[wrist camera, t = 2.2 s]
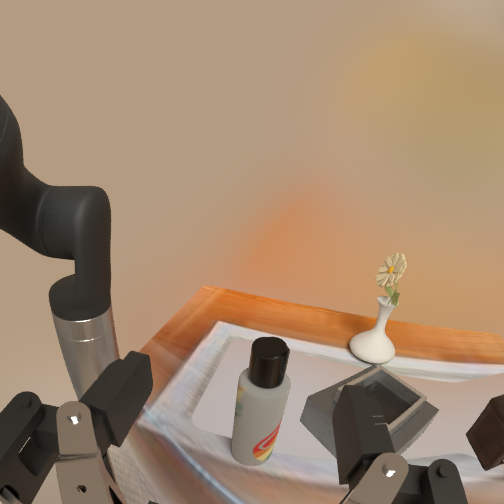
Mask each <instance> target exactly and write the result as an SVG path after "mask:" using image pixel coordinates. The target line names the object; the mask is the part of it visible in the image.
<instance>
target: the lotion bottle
mask: <svg viewBox="0 0 504 504" xmlns="http://www.w3.org/2000/svg"><path fill="white" fill-rule="evenodd" d="M289 353H290V349H289V348H288V347H287V345H286V343H285V342H284V341H283V340H282V339H280V338H277V337H260V338H258V339H256V340H255V341H254V342H253V344H252V349H251V356H250V364H249V368H247V369H245V370H244V371H243V372H242V373H241V375H240V377H239V381H238V390H237V399H236V408H235V417H234V426H233V436H232V446H231V451H232V454H233V456H234V458H235V459H236V460H237V461H238V462H240V463H242V464H244V465H248V466H256V465H260V464H263V463H264V462H266V461H267V460H268V459H269V457H270V455H271V453H272V450H273V447H274V443H275V441H276V437H277V434H278V430H279V427H280V424H281V420H282V417H283V414H284V410H285V406H286V403H287V399H288V395H289V391H290V387H291V383H290V379H289V377H288V376H287V375H286V373H285V372H286V367H287V363H288V358H289Z"/></svg>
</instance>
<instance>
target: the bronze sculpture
mask: <svg viewBox="0 0 504 504" xmlns="http://www.w3.org/2000/svg"><path fill="white" fill-rule="evenodd" d="M466 436H467V438H468V440H469V443H470V444H471V446H472V448H473V450H474V452H475V454H476V455H477V457H478V459H479V461H480V463H481V465H482V467H483V468H484V469H485V470H486V471H487V470H489V469H491V468H494V467H496V466H498V465H500V464H504V395H501V396H498V397H495V398H492V399H491V400H490V401H489V403H488V405H487V406H486V407H485V409H484V410H483V412H482V413H481V415H480V416H479V417H478V419H477V420H476V422H475V423H474V424H473V426H472V427H471V428H470V430H469V431H468V432H467V433H466Z"/></svg>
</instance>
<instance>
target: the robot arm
mask: <svg viewBox="0 0 504 504" xmlns="http://www.w3.org/2000/svg"><path fill="white" fill-rule="evenodd" d="M0 229H2V230H3V231H5V232H7V233H9V234H10V235H12V236H13V237H15V238H16V239H18V240H19V241H21V242H22V243H24V244H25V245H27V246H28V247H30V248H31V249H33V250H34V251H36V252H38V253H40V254H42V255H44V256H47V257H52V258H59V259H69V260H75V274H73V275H70V276H67V277H64V278H62V279H60V280H58V281H57V282H56V283H54V284H53V285H52V286H51V288H50V290H49V302H50V306H51V311H52V316H53V320H54V324H55V328H56V332H57V336H58V339H59V343H60V347H61V350H62V354H63V357H64V360H65V363H66V366H67V370H68V373H69V375H70V378H71V381H72V384H73V387H74V389H75V392H76V395H77V397H78V400H79V401H78V402H77V401H71V402H66V403H64V404H63V405H61V406H60V407H56V406H51V405H46V404H42V403H41V401H40V399H39V397H38V396H37V395H36V394H35V393H33V392H22V393H19V394H17V395H16V396H15V397H14V398H13V399H12V401H10V403H9V404H8V405H7V406H6V407H5V408H4V409H3V411H2V412H1V413H0V504H31V503H32V502H33V500H34V498H35V496H36V494H37V493H38V491H39V489H40V487H41V485H42V484H43V482H44V480H45V478H46V477H47V475H48V473H49V471H50V470H51V468H52V466H53V464H54V463H55V464H56V471H57V478H58V483H59V489H60V494H61V498H62V503H63V504H127V503H126V501H125V499H124V497H123V495H122V493H121V490H120V488H119V486H118V483H117V480H116V477H115V473H114V470H113V467H112V464H111V460H110V457H109V453H108V448H109V446H110V445H111V444H112V445H115V446H117V447H120V446H121V445H122V443H123V441H124V439H125V438H126V436H127V434H128V432H129V430H130V429H131V427H132V425H133V423H134V422H135V420H136V418H137V416H138V415H139V413H140V411H141V409H142V408H143V406H144V404H145V402H146V401H147V399H148V397H149V396H150V394H151V391H152V387H153V379H152V372H151V364H150V357H149V355H146V354H143V353H139V352H135V351H130V352H129V353H128V355H127V356H126V357H125V358H124V360H122V359H120V357H119V351H118V346H117V340H116V334H115V327H114V320H113V313H112V305H111V295H110V287H111V265H110V240H111V209H110V202H109V199H108V196H107V194H106V192H105V191H104V190H103V189H102V188H100V187H95V186H51V185H47V184H45V183H44V182H42V181H40V180H39V179H37V178H36V177H35V176H34V175H33V174H31V173H30V172H29V171H28V170H27V169H26V168H25V166H24V164H23V149H22V139H21V133H20V129H19V125H18V122H17V120H16V118H15V116H14V114H13V112H12V110H11V109H10V107H9V106H8V104H7V103H6V102H5V100H4V99H3V98H2V97H1V95H0ZM332 424H333V432H334V440H335V448H336V456H337V465H338V474H339V484H340V485H343V484H349V491H348V492H347V494H346V495H345V496H344V497H343V499H342V500H341V501H340V502H339V504H468V502H467V498H466V495H465V491H464V488H463V485H462V482H461V478H460V475H459V472H458V469H457V467H456V465H455V464H454V463H453V462H451V461H449V460H447V459H438V460H436V461H434V462H433V463H432V464H431V465H430V466H429V467H427V466H417V465H410V464H408V463H407V461H406V460H405V459H404V458H403V457H402V456H401V455H399V454H396V453H395V450H394V447H393V444H392V440H391V437H390V434H389V430H388V427H387V424H386V421H385V418H384V417H383V412H382V409H381V406H380V404H379V403H378V402H377V401H376V400H375V399H374V397H367V395H366V392H365V388H364V386H363V385H344V387H343V389H342V391H341V394H340V396H339V399H338V401H337V403H336V406H335V408H334V411H333V416H332ZM29 437H30V439H29V440H28V438H29ZM27 440H28V442H27V443H26V445H25V446H24V444H25V442H26V441H27ZM23 446H24V447H23ZM22 447H23V449H22V450H21V448H22ZM20 450H21V452H20ZM19 452H20V453H19ZM59 455H60V457H58V456H59ZM148 504H158V503H155V502H152V501H149V503H148Z"/></svg>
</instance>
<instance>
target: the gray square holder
mask: <svg viewBox="0 0 504 504" xmlns="http://www.w3.org/2000/svg"><path fill="white" fill-rule="evenodd" d="M344 385H363V386H364V388H365V392H366V395H367V397H374V399H375V400H376V401H377V402H378V403H379V404H380V406H381V409H382V412H383V417H384V418H385V421H386V424H387V427H388V430H389V434H390V437H391V440H392V444H393V447H394V450H395V453H396V454H399V455H401V454H402V453H403V452H404V451H405V450H406V449H407V448H409V447H410V446H411V445H412V444H413V443H414V442H415V441H416V440H417V439H418V438H419V437H420V436H421V434H422V433H424V431H425V430H426V428H427V427H428V426H429V424H430V423H431V421H432V420H433V418H434V417H435V416H436V414H437V412H438V411H439V409H437V408H436V407H434V406H432V405H431V404H430V403H428V402H427V401H426V399H427V397H426V396H424V395H423V394H422V393H420V392H419V391H417V390H416V389H414V388H413V387H411V386H410V385H409V384H407V383H406V382H404V381H403V380H401V379H400V378H398V377H397V376H396V375H394V374H393V373H391V372H390V371H388V370H387V369H386V368H384V367H383V366H381V365H380V366H379V367H377V366H375V365H372V366H371V367H369V368H367V369H365V370H363V371H361V372H359V373H357V374H355V375H353V376H351V377H349V378H347V379H345V380H343V381H341V382H339V383H337V384H335V385H333V386H330V387H328V388H326V389H324V390H322V391H319V392H317V393H315V394H313V395H310V396H308V398H307V401H306V404H305V407H304V410H303V413H302V416H301V419H300V421H301V423H302V424H303V425H304V426H305V427H306V428H307V429H308V430H309V431H310V432H311V433H312V434H313V435H314V436H315V437H316V438H317V439H318V440H319V441H320V442H321V444H322V445H323V446H325V448H326V449H327V450H328V451H329V452H331V454H332V455H333V456H334V457H335V458H336V459H337V456H336V448H335V440H334V432H333V424H332V416H333V411H334V408H335V406H336V403H337V401H338V399H339V396H340V394H341V391H342V389H343V387H344Z"/></svg>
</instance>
